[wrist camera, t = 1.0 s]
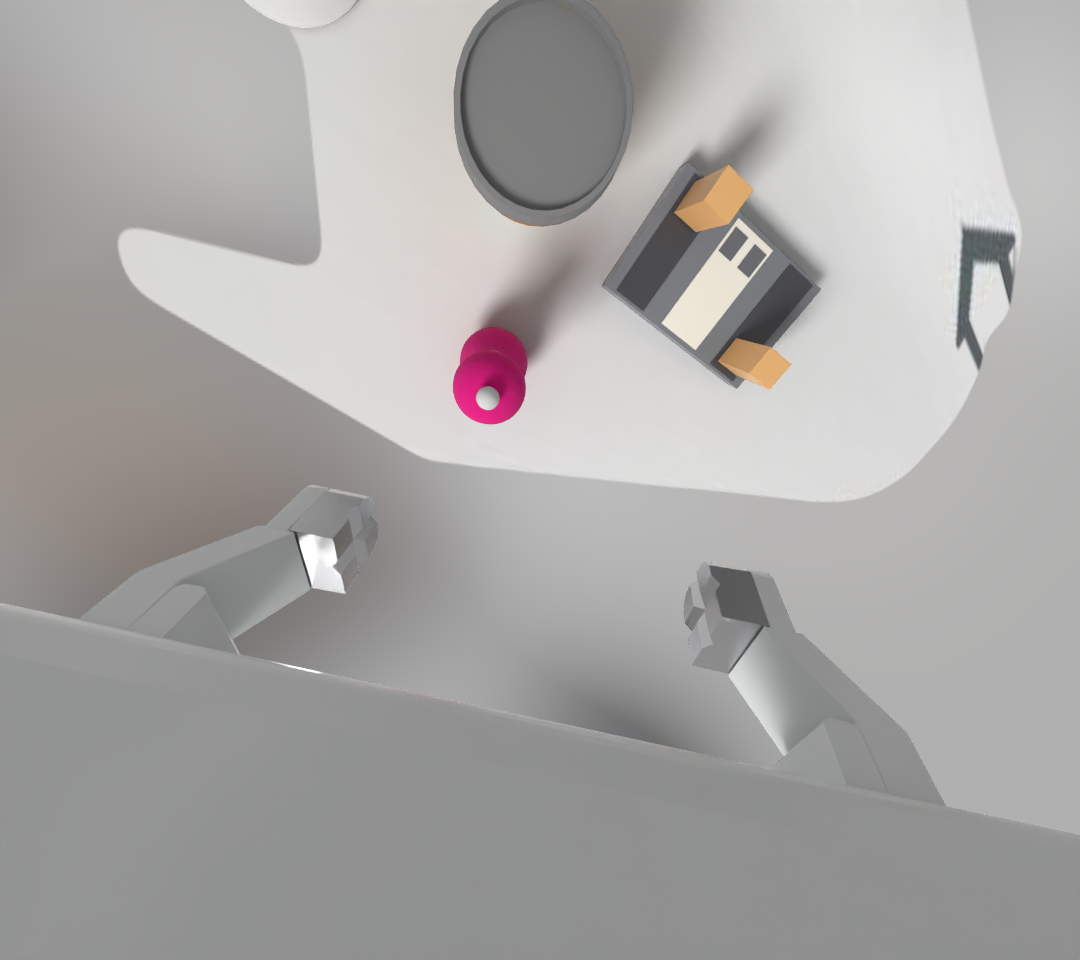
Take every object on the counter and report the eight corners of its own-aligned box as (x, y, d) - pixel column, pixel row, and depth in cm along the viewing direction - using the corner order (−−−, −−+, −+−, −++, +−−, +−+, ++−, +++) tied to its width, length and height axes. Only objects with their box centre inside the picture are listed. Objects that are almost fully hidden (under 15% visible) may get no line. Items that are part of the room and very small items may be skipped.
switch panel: (727, 383, 52) (737, 388, 50) (601, 285, 47) (606, 286, 44) (806, 288, 48) (822, 289, 46) (679, 168, 42) (689, 161, 40)
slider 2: (735, 375, 49) (769, 389, 43) (717, 360, 48) (749, 373, 42) (754, 353, 48) (791, 364, 42) (736, 338, 47) (771, 347, 41)
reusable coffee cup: (615, 119, 40) (669, 40, 27) (568, 258, 45) (593, 249, 32) (490, 56, 38) (480, -67, 24) (454, 210, 43) (428, 179, 29)
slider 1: (695, 232, 42) (728, 224, 36) (674, 212, 42) (703, 200, 35) (716, 203, 41) (753, 189, 35) (694, 182, 41) (728, 164, 34)
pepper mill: (469, 316, 47) (445, 340, 29) (532, 332, 48) (546, 364, 30) (459, 379, 50) (431, 436, 32) (518, 393, 51) (523, 455, 33)
